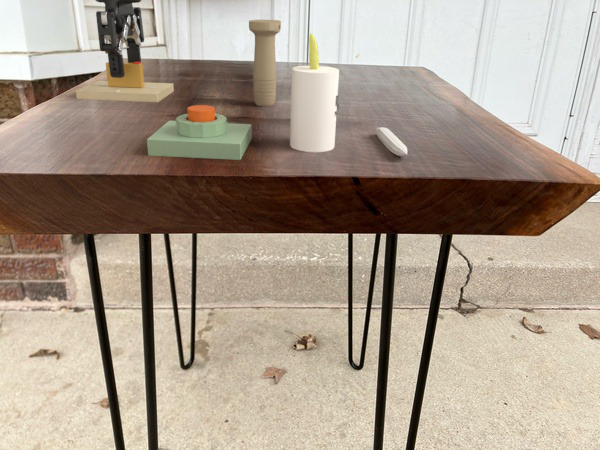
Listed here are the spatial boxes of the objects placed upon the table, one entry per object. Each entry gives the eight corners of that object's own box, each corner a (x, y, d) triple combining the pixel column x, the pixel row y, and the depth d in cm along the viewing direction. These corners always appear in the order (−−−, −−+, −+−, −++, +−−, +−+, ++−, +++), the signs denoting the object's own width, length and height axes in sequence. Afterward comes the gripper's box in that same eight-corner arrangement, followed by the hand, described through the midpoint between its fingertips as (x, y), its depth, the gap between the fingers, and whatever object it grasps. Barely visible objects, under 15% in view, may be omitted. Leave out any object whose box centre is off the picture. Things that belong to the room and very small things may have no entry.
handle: (245, 116, 89) (243, 21, 82) (257, 108, 94) (257, 19, 88) (272, 119, 88) (273, 23, 81) (283, 111, 93) (284, 20, 87)
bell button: (184, 123, 69) (184, 110, 68) (191, 117, 72) (191, 104, 72) (212, 124, 69) (211, 111, 68) (217, 118, 72) (217, 105, 72)
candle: (331, 154, 71) (338, 36, 65) (284, 149, 72) (287, 33, 66) (339, 142, 76) (346, 32, 70) (295, 137, 78) (299, 30, 71)
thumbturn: (108, 86, 93) (105, 61, 91) (111, 84, 94) (108, 60, 92) (141, 88, 93) (139, 63, 91) (144, 86, 94) (142, 61, 92)
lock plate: (77, 108, 90) (74, 89, 89) (101, 96, 100) (99, 79, 98) (158, 111, 90) (156, 93, 88) (174, 99, 99) (173, 82, 98)
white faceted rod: (399, 163, 68) (401, 151, 68) (373, 134, 81) (374, 123, 80) (411, 163, 69) (412, 151, 68) (383, 134, 81) (384, 123, 80)
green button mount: (148, 155, 68) (145, 125, 66) (170, 135, 77) (168, 107, 75) (240, 160, 67) (240, 129, 66) (251, 139, 76) (251, 111, 75)
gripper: (109, -30, 92) (121, 66, 99) (72, -31, 79) (88, 79, 86) (151, -29, 92) (160, 67, 99) (121, -30, 79) (133, 81, 86)
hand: (127, 73), depth 92 cm, fingers open, 8 cm apart
